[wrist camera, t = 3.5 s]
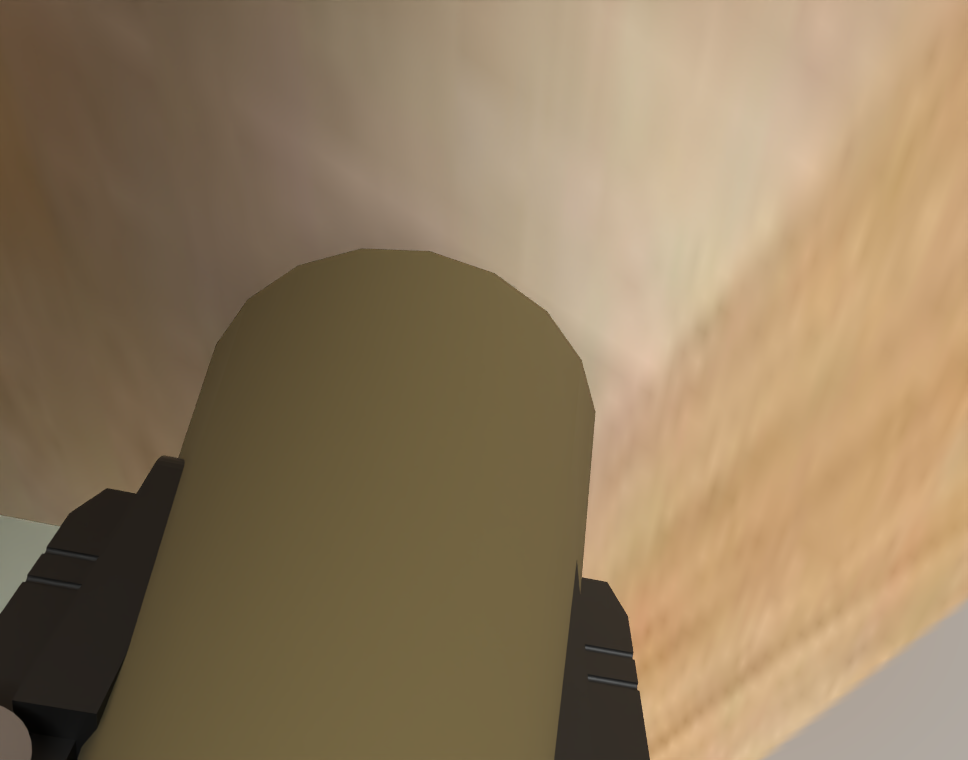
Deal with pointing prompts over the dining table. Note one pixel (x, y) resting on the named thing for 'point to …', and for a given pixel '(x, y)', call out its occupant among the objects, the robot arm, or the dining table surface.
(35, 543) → the tower base block
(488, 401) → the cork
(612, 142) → the dining table surface
